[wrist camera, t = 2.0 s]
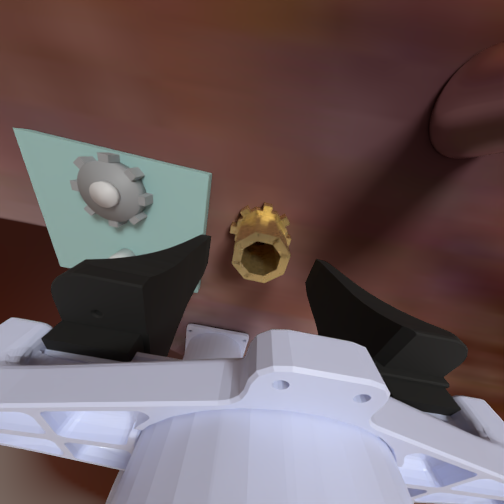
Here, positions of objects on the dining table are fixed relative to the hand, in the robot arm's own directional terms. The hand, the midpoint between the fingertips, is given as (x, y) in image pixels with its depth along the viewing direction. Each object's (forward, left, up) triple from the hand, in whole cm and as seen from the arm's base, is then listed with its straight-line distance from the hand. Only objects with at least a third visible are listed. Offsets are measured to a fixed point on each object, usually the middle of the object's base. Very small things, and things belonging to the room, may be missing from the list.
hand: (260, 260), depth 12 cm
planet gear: (0, 0, -5) cm, 5 cm away
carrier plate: (-2, +12, -5) cm, 13 cm away
